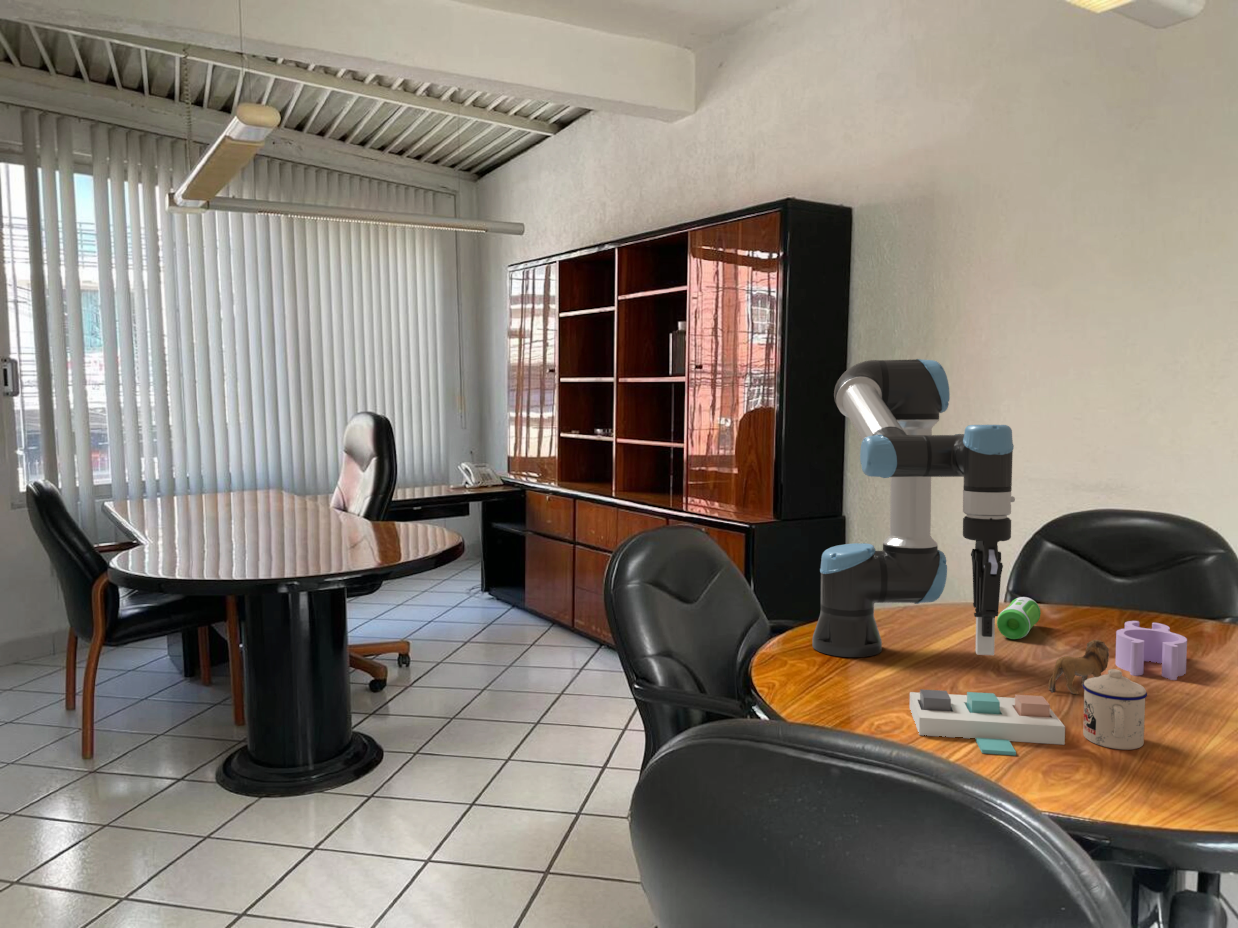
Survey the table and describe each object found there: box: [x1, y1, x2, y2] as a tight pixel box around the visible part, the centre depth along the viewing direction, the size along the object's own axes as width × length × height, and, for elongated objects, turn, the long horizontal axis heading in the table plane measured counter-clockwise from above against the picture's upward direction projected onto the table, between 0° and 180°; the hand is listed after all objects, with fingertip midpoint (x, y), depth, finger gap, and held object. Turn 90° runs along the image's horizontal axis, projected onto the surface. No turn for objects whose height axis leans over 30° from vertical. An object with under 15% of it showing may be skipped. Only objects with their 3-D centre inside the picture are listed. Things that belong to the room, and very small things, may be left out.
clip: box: [1115, 620, 1188, 681], centre depth 182 cm, size 20×12×7 cm, turn 153°
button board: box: [909, 691, 1066, 746], centre depth 149 cm, size 13×22×3 cm, turn 78°
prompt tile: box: [975, 738, 1017, 757], centre depth 139 cm, size 5×5×1 cm
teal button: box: [966, 691, 1000, 714], centre depth 148 cm, size 4×4×3 cm
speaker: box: [996, 596, 1041, 640], centre depth 208 cm, size 18×7×8 cm, turn 145°
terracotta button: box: [1014, 694, 1051, 717], centre depth 147 cm, size 4×4×3 cm
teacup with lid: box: [1082, 668, 1148, 751], centre depth 140 cm, size 12×9×12 cm
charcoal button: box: [919, 688, 951, 712], centre depth 150 cm, size 4×4×3 cm
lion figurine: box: [1047, 639, 1110, 695], centre depth 166 cm, size 15×5×9 cm, turn 116°
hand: (984, 653), depth 147 cm, fingers closed
